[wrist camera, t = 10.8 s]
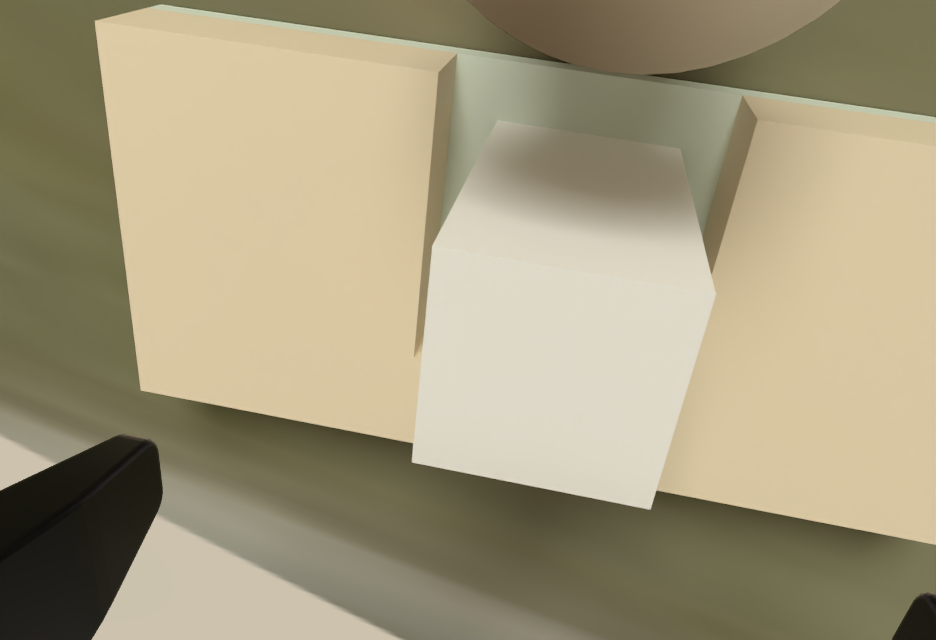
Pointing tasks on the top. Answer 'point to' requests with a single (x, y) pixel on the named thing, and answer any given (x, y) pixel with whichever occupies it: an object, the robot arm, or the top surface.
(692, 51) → the bobbin
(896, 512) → the notched board
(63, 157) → the top surface
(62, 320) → the top surface
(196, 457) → the top surface
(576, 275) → the block
